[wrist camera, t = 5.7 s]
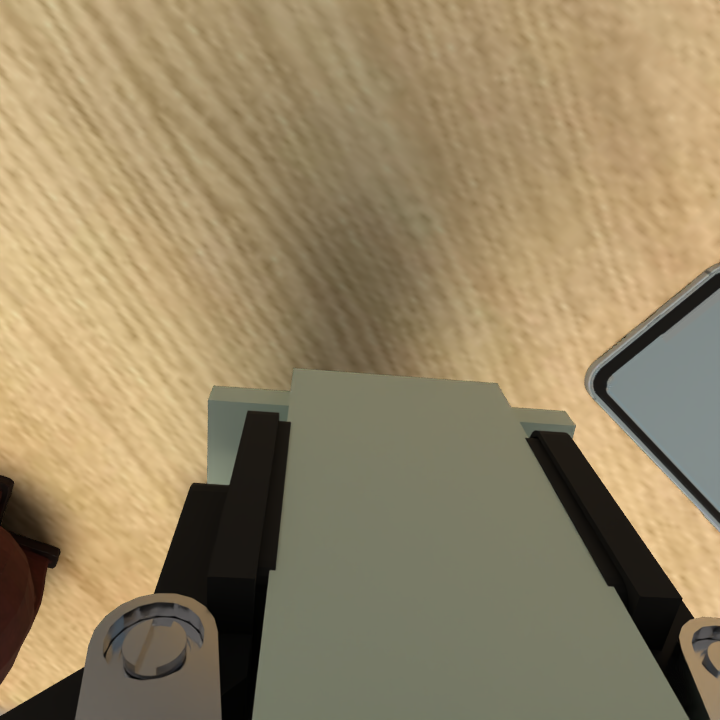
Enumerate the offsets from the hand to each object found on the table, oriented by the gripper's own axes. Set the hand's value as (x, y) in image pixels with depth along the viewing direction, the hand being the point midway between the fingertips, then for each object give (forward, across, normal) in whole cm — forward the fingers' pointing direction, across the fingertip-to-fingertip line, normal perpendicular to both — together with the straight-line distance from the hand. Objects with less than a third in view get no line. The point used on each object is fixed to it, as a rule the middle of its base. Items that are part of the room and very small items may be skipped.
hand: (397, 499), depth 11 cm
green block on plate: (+2, 0, +4) cm, 4 cm away
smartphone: (+14, -17, +5) cm, 22 cm away
